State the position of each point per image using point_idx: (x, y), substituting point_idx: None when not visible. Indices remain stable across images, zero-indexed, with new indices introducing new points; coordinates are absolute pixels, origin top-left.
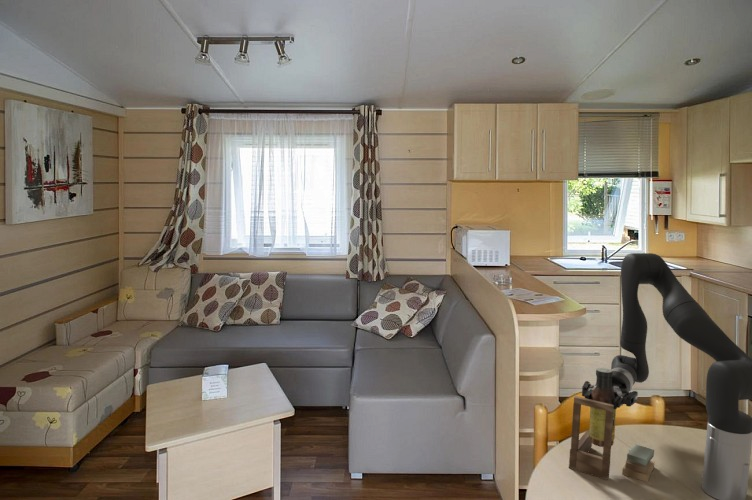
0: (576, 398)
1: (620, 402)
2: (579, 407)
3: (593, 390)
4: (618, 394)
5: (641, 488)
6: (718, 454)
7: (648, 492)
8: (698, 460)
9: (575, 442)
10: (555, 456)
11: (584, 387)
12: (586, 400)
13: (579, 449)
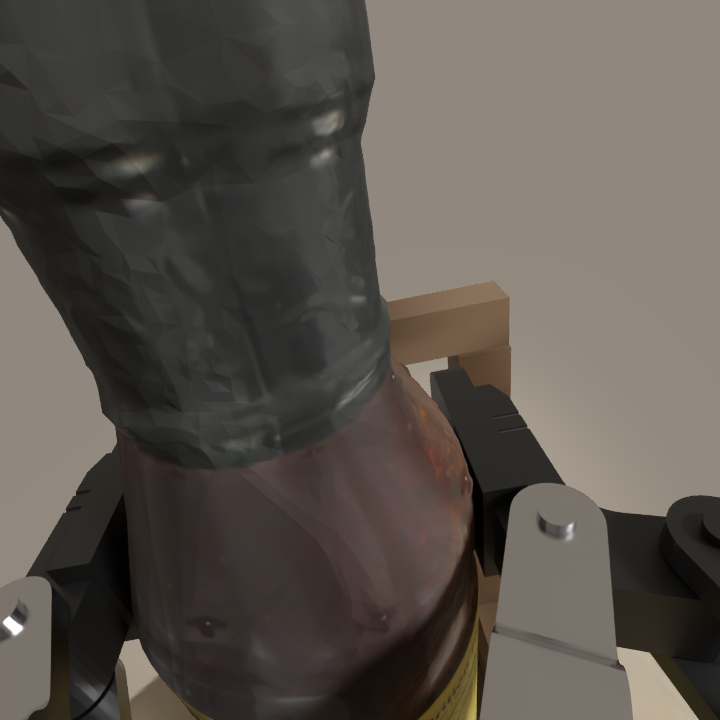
0: (472, 289)
1: (83, 495)
2: (448, 359)
3: (417, 385)
4: (33, 656)
5: (171, 710)
6: None
7: (143, 696)
8: None
9: None
10: (642, 697)
11: (706, 515)
12: (388, 302)
13: (485, 643)
